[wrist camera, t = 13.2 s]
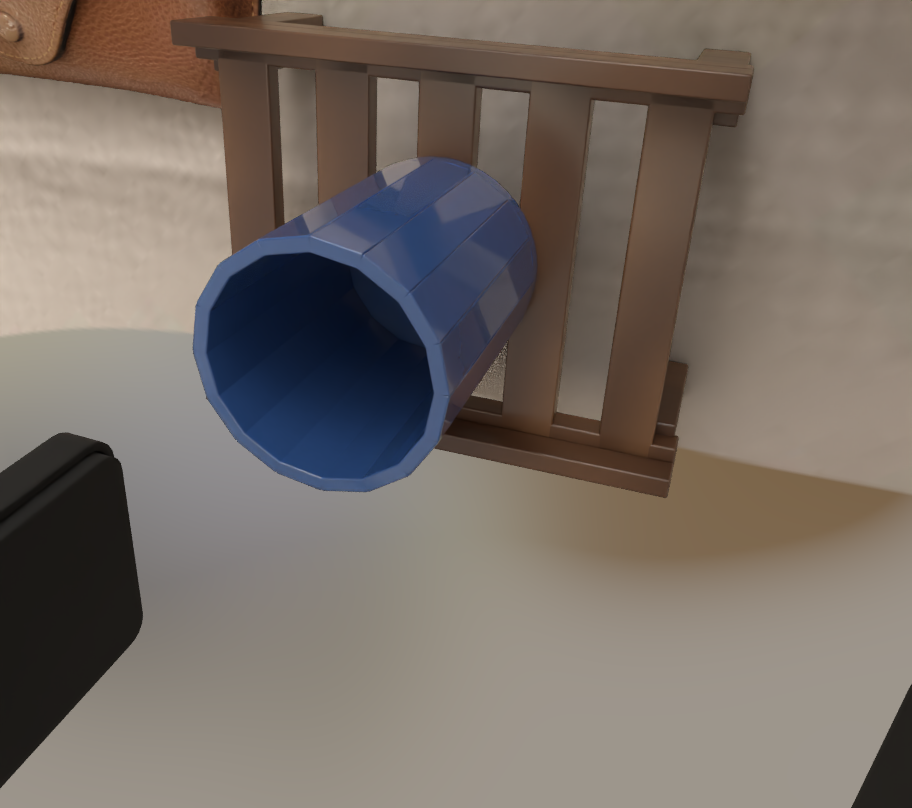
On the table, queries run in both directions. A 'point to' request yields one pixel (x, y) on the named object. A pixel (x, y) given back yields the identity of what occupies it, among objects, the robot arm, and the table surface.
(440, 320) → the cup
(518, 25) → the table surface
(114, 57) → the sunglasses case
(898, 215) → the table surface
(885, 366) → the table surface
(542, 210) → the rack
